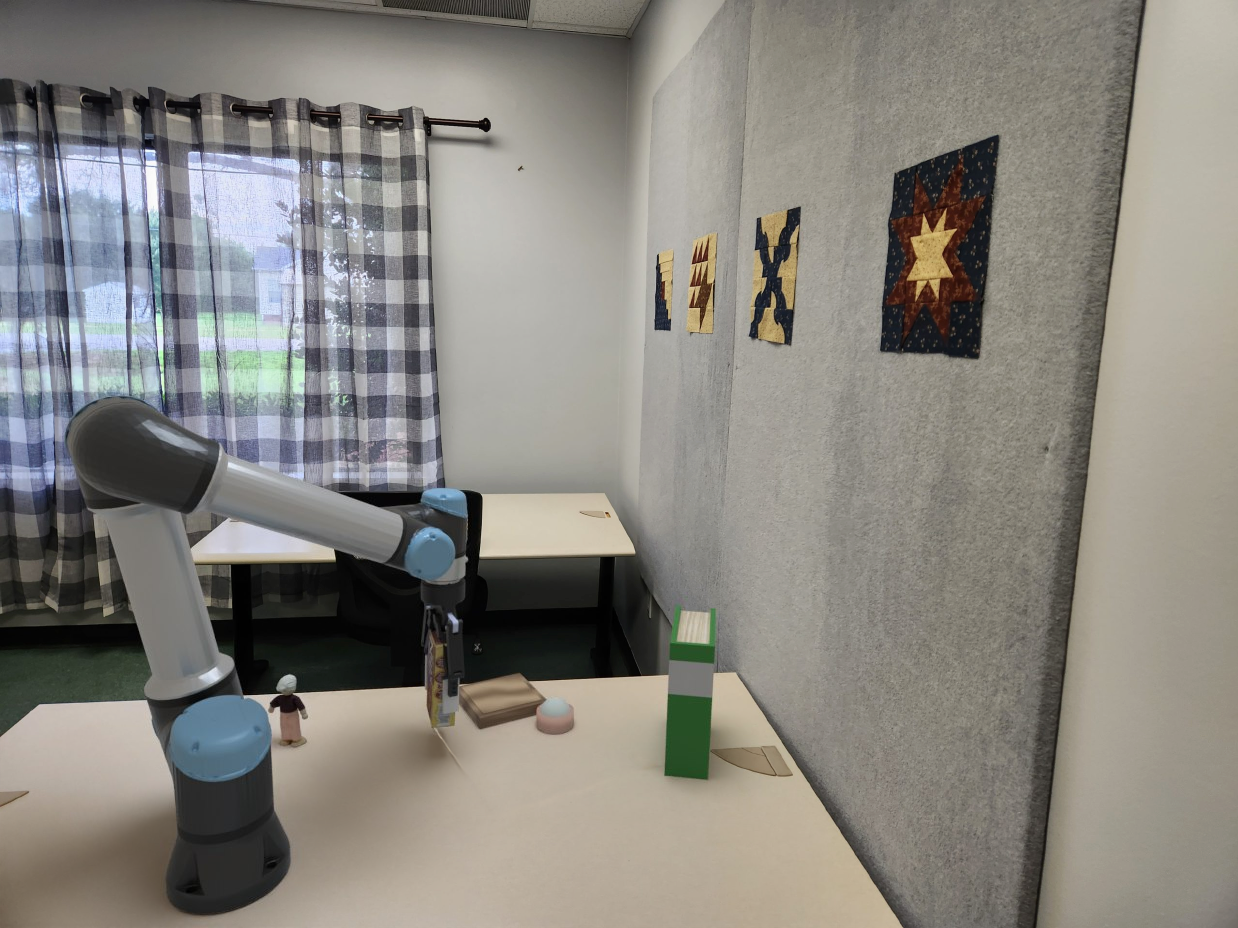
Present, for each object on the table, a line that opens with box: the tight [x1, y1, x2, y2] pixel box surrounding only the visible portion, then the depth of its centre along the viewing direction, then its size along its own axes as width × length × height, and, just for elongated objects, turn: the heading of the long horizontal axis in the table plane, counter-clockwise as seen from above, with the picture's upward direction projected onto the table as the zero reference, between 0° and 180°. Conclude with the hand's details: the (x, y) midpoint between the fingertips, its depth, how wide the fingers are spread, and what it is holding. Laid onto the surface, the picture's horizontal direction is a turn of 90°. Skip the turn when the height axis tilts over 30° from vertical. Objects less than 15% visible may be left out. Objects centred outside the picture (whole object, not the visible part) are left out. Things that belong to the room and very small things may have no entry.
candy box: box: [426, 630, 456, 729], centre depth 135 cm, size 9×4×15 cm, turn 20°
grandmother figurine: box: [267, 674, 309, 748], centre depth 137 cm, size 8×4×13 cm, turn 89°
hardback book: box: [664, 605, 717, 781], centre depth 137 cm, size 18×7×24 cm, turn 173°
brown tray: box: [459, 672, 548, 730], centre depth 152 cm, size 14×14×3 cm
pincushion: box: [535, 696, 575, 735], centre depth 144 cm, size 7×7×6 cm
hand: (441, 699), depth 136 cm, fingers closed on candy box, 9 cm apart
